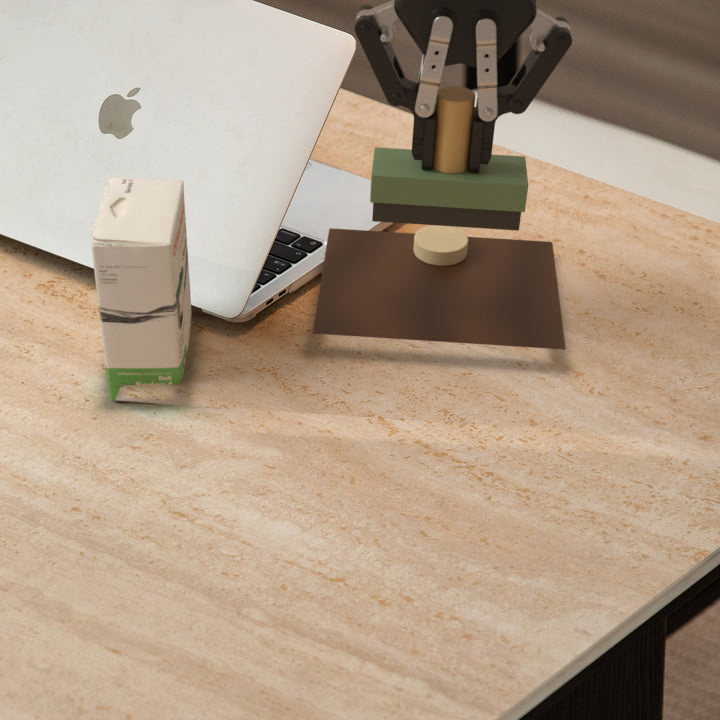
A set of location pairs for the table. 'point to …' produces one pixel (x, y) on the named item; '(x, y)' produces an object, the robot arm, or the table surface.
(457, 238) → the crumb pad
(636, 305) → the table surface
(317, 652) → the table surface
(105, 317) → the ink box
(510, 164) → the brush
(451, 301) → the board
